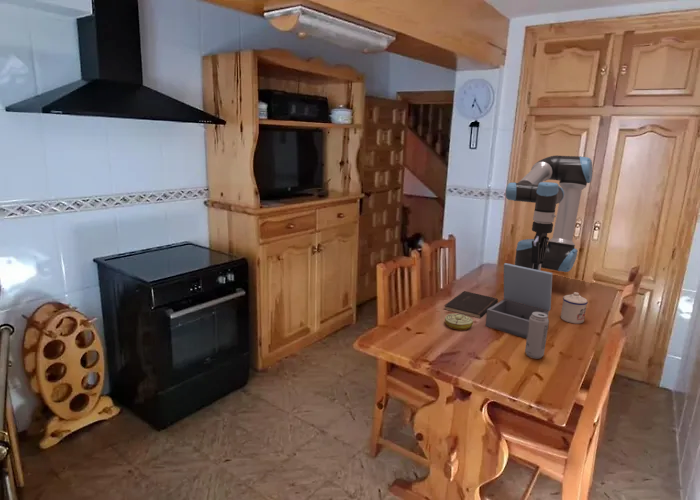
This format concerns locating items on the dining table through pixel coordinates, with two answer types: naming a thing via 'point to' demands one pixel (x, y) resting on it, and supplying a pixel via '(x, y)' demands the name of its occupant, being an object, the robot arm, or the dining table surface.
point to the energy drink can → (536, 335)
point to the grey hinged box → (511, 317)
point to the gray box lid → (528, 286)
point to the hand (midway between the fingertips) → (535, 278)
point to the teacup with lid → (573, 308)
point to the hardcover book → (471, 304)
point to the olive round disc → (458, 321)
